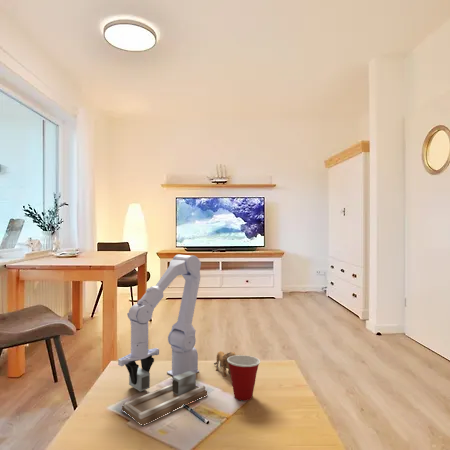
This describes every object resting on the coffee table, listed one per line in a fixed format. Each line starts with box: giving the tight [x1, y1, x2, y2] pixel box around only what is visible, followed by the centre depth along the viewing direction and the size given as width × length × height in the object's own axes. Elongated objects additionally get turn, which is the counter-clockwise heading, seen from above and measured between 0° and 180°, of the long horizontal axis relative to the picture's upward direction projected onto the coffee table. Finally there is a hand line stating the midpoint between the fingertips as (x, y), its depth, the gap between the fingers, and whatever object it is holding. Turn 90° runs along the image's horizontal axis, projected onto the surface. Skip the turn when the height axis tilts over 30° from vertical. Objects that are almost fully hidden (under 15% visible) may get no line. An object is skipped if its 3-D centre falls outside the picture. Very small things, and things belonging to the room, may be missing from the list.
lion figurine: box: [213, 350, 236, 378], centre depth 127 cm, size 15×5×9 cm, turn 34°
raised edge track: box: [121, 371, 208, 425], centre depth 104 cm, size 24×11×6 cm, turn 136°
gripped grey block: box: [128, 366, 151, 392], centre depth 113 cm, size 4×7×5 cm, turn 46°
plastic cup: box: [227, 354, 261, 402], centre depth 109 cm, size 11×11×12 cm
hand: (139, 381), depth 113 cm, fingers closed on gripped grey block, 3 cm apart
